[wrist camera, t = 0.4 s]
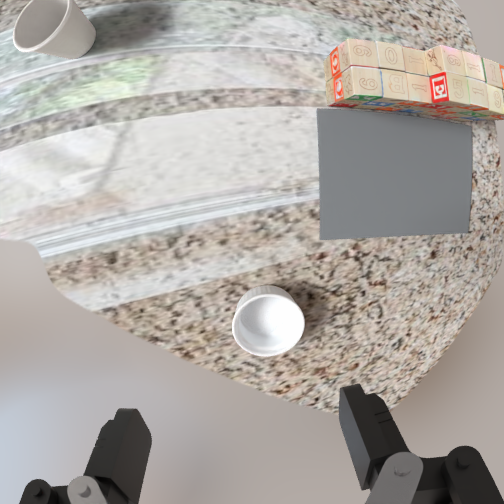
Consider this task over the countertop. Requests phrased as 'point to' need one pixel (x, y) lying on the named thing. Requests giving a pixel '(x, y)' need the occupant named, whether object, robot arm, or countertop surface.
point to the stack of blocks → (414, 80)
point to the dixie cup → (54, 29)
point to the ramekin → (267, 321)
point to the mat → (392, 175)
